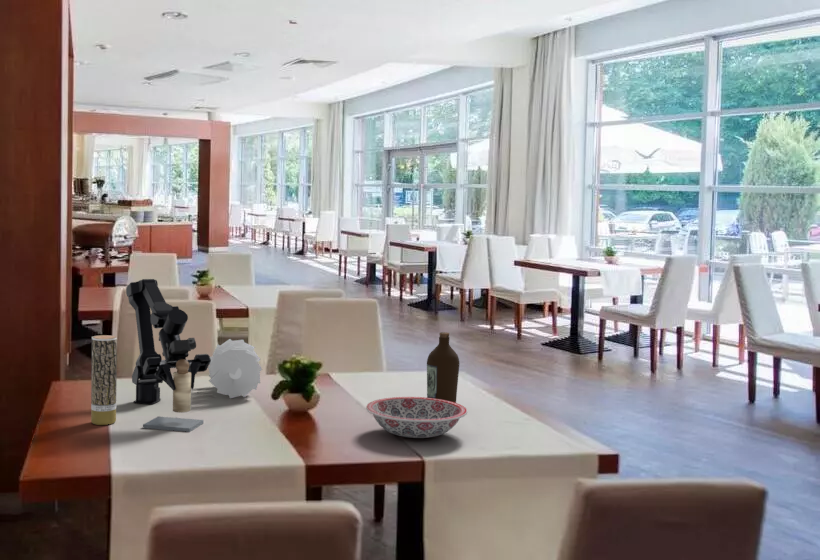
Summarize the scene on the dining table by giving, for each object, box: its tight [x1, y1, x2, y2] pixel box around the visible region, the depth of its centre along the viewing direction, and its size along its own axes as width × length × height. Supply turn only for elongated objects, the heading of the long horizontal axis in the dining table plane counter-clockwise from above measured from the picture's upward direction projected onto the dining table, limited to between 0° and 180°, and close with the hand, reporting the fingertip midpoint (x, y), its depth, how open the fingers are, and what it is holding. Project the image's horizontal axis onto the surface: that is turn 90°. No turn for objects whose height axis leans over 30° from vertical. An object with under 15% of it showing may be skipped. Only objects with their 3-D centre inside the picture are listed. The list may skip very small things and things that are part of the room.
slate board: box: [142, 415, 204, 433], centre depth 257 cm, size 14×10×1 cm
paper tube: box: [90, 334, 118, 426], centre depth 256 cm, size 7×7×25 cm
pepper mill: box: [172, 359, 192, 413], centre depth 256 cm, size 5×5×15 cm
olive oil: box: [426, 331, 460, 403], centre depth 290 cm, size 11×11×25 cm
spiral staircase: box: [207, 338, 263, 399], centre depth 302 cm, size 18×18×25 cm
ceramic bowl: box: [365, 396, 468, 439], centre depth 257 cm, size 29×29×8 cm
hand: (183, 388), depth 255 cm, fingers closed on pepper mill, 5 cm apart
